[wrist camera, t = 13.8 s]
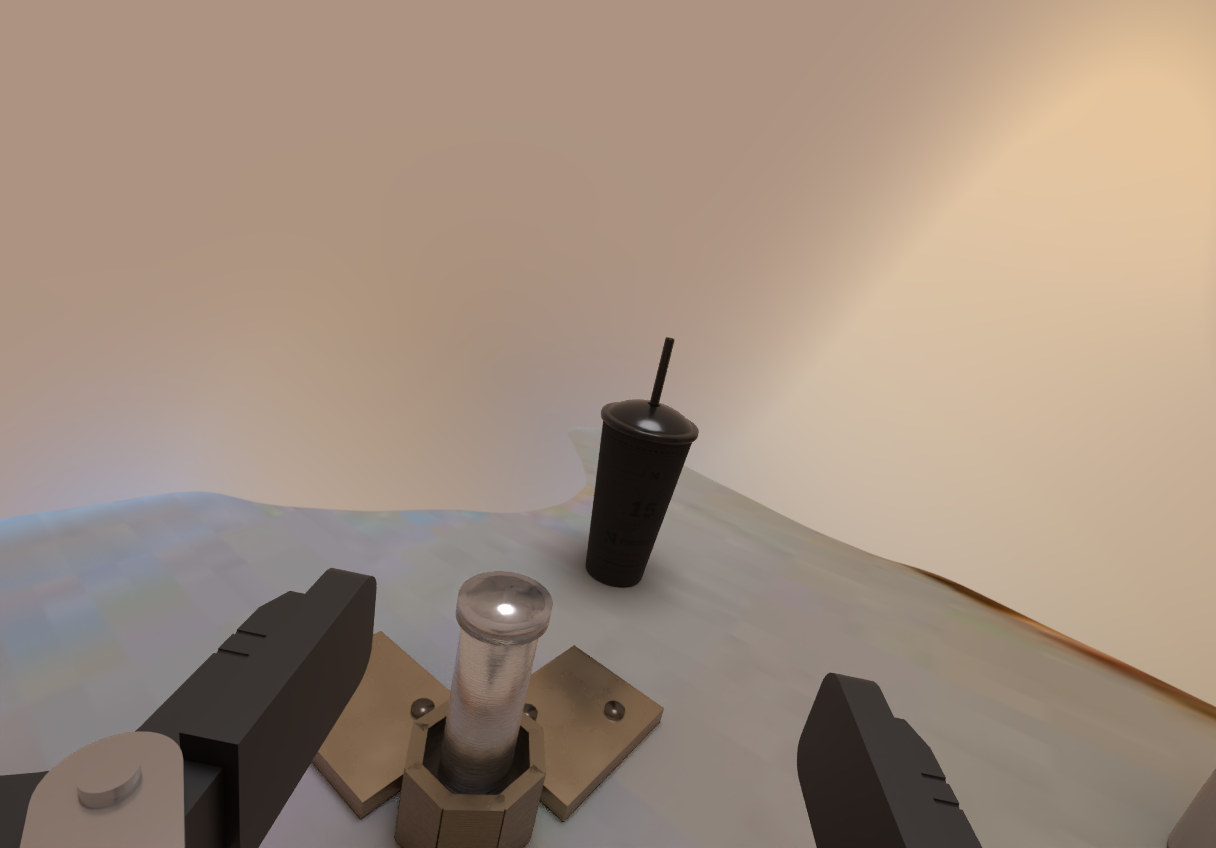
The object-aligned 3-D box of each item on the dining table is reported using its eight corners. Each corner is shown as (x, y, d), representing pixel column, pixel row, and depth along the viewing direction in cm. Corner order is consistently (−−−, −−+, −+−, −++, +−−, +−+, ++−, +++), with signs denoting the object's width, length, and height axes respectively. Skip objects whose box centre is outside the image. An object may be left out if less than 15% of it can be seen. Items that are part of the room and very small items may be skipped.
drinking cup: (553, 549, 52) (601, 320, 46) (628, 542, 56) (681, 330, 50) (594, 604, 46) (655, 348, 40) (675, 591, 50) (742, 357, 44)
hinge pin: (470, 765, 31) (506, 561, 27) (523, 815, 29) (571, 603, 25) (406, 814, 28) (438, 592, 24) (461, 874, 26) (505, 642, 22)
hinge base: (482, 594, 44) (490, 546, 43) (659, 721, 36) (676, 667, 35) (260, 702, 32) (263, 639, 30) (457, 931, 24) (471, 859, 22)
